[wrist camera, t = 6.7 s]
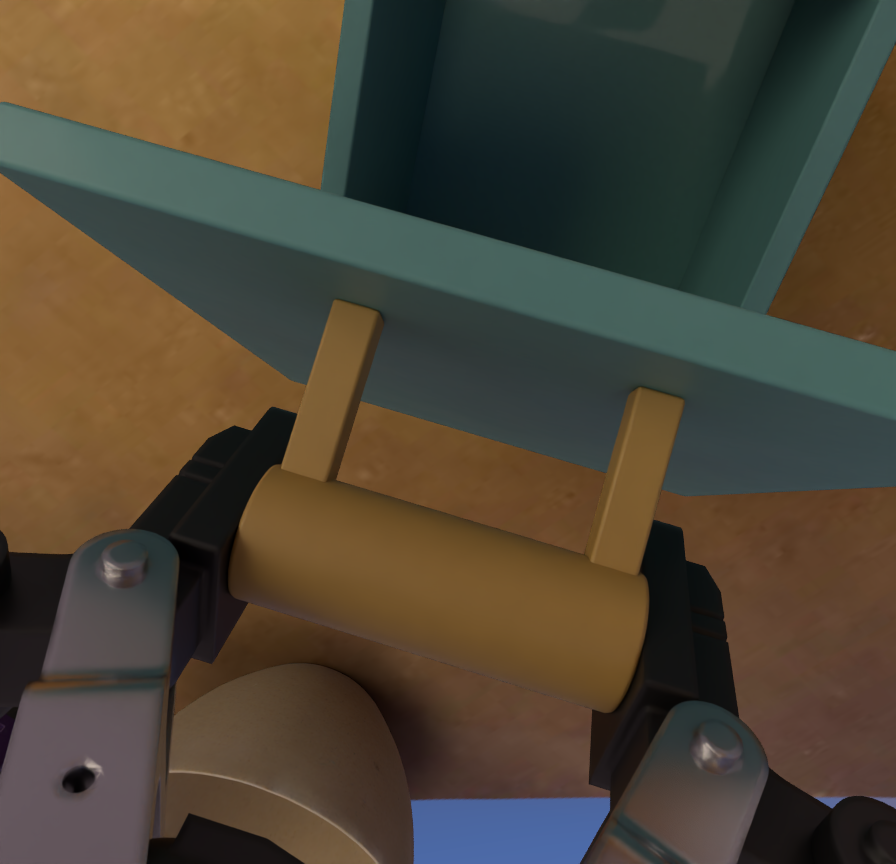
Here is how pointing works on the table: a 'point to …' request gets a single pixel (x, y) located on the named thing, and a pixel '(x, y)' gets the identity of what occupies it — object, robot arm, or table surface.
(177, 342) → the table surface
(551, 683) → the lid
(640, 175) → the chest
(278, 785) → the beige bowl
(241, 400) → the table surface
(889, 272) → the table surface
